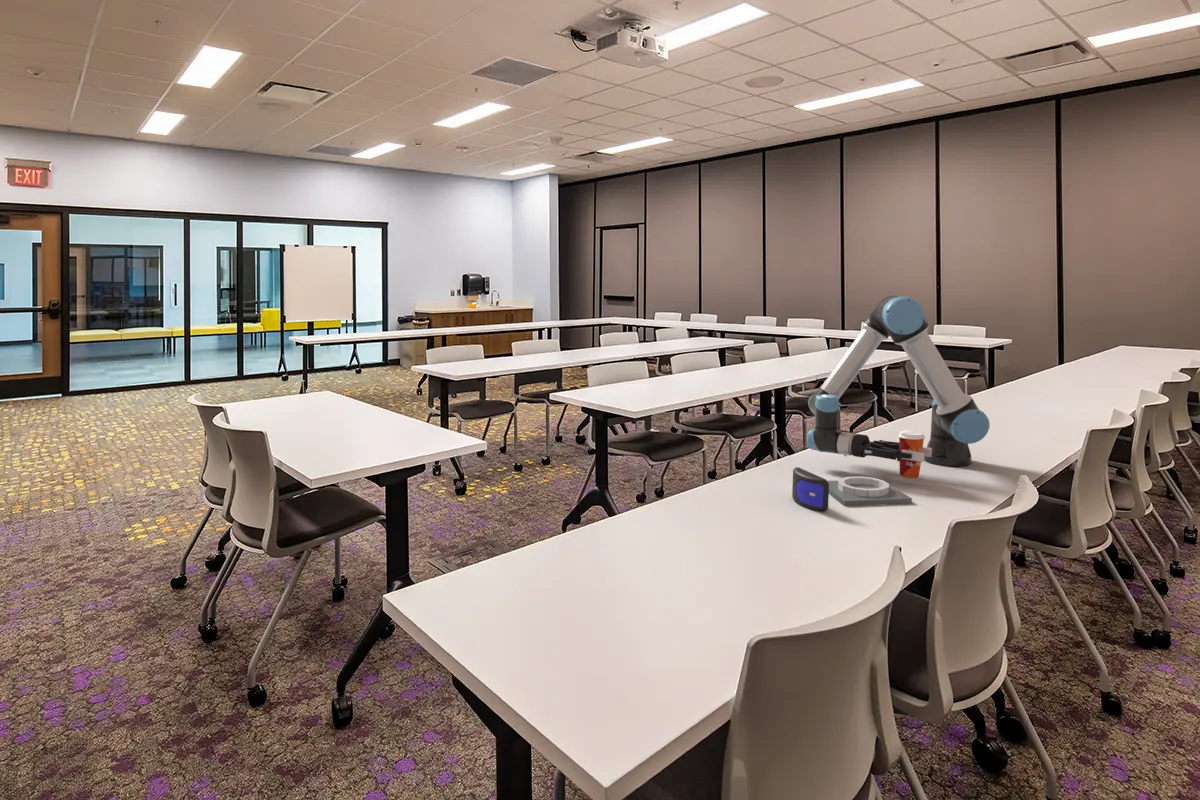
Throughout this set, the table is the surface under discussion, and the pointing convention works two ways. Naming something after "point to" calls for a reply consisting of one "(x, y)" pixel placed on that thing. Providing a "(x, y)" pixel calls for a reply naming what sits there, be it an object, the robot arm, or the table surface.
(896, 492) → the collar board
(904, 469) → the paper cup
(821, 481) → the leaning round-cornered charcoal block
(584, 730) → the table surface
